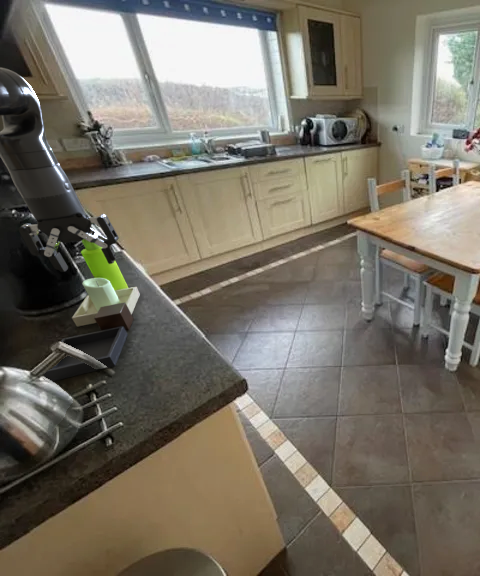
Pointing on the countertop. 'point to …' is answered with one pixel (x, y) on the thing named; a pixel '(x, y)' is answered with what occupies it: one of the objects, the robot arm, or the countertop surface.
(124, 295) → the cream tray
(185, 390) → the countertop surface
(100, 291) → the candle
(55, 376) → the charcoal tray
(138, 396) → the countertop surface
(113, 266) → the soap dispenser
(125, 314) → the walnut block
